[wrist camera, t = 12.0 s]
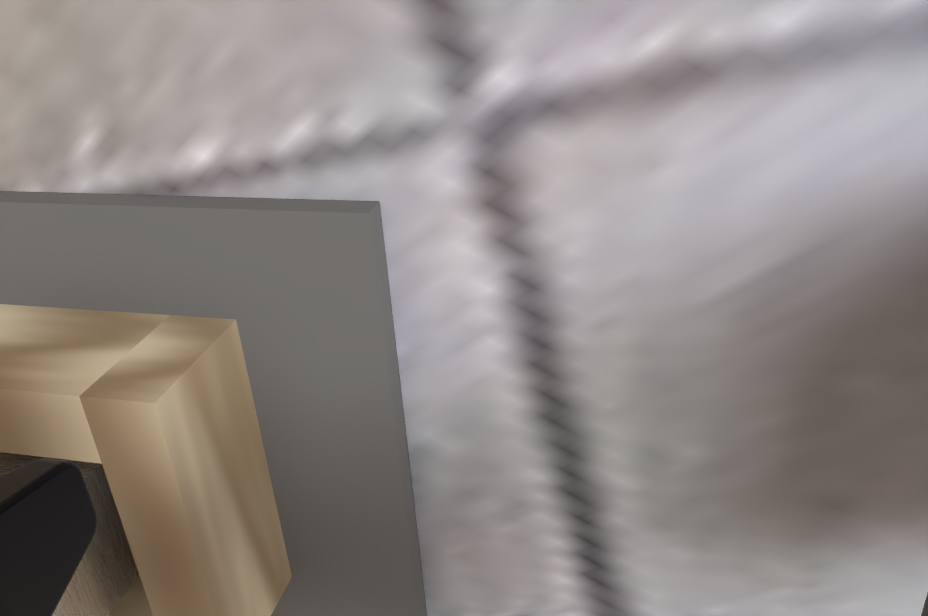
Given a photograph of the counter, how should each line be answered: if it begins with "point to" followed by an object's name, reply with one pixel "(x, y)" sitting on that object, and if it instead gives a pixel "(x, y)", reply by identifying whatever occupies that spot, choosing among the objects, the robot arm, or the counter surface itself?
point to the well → (154, 447)
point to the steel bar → (93, 548)
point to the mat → (263, 356)
